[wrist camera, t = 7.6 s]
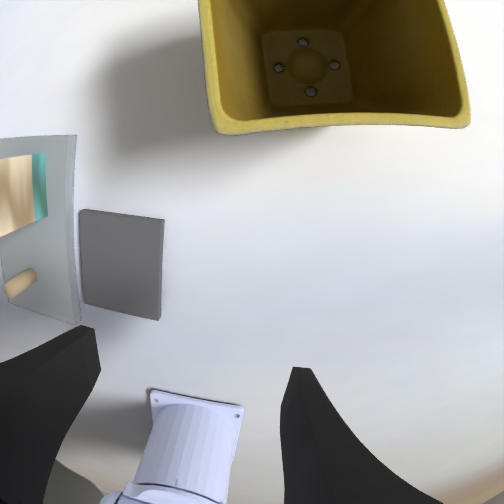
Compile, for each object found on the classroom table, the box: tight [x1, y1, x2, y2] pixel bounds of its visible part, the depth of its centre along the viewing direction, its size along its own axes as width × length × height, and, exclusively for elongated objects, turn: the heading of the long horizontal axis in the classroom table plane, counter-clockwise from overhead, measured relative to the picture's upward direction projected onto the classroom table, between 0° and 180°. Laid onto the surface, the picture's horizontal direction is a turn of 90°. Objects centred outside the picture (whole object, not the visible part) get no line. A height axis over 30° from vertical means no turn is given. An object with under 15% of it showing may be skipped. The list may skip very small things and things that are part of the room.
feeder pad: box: [80, 209, 164, 321], centre depth 19 cm, size 7×6×1 cm
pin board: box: [0, 135, 81, 325], centre depth 17 cm, size 14×8×4 cm, turn 172°
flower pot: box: [198, 0, 471, 136], centre depth 11 cm, size 9×9×9 cm
